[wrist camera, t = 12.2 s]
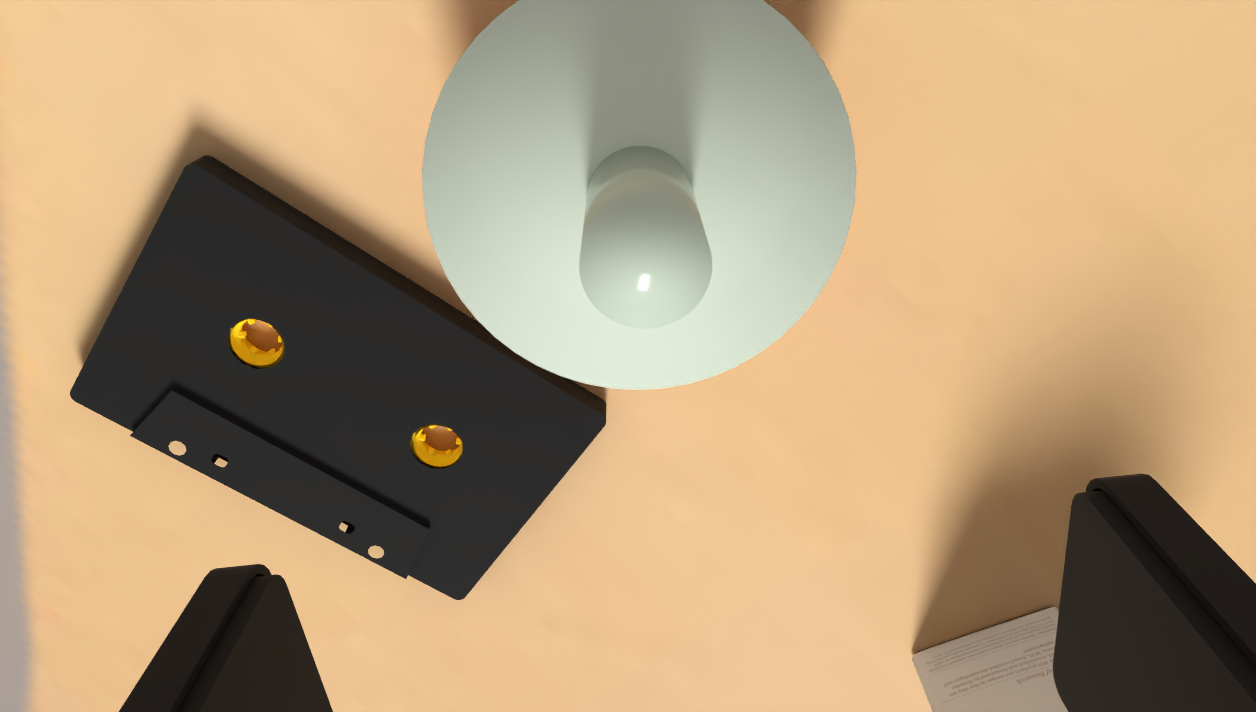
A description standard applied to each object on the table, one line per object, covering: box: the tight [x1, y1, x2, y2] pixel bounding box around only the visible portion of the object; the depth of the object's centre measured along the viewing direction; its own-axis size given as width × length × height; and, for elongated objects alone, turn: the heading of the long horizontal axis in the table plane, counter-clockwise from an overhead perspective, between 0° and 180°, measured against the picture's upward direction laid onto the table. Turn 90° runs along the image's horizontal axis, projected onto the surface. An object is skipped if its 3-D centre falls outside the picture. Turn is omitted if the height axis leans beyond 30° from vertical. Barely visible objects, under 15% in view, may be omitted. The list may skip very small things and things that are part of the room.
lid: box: [422, 0, 856, 390], centre depth 25 cm, size 13×13×7 cm
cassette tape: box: [70, 156, 606, 600], centre depth 36 cm, size 18×12×2 cm, turn 54°
